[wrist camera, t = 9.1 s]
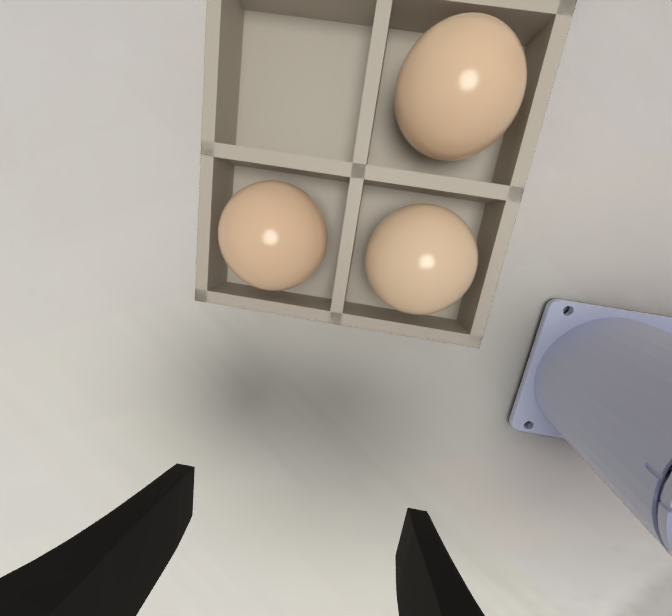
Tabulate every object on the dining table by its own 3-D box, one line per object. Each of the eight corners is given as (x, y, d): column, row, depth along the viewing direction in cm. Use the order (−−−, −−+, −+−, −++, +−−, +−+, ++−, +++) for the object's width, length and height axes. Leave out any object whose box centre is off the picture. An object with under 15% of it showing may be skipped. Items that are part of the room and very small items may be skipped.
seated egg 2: (471, 213, 17) (512, 211, 12) (448, 307, 19) (477, 338, 14) (373, 198, 17) (376, 191, 13) (357, 292, 19) (354, 318, 14)
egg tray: (538, 38, 16) (577, -3, 13) (462, 328, 19) (479, 348, 16) (236, -1, 16) (208, -49, 13) (219, 288, 20) (194, 300, 17)
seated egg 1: (339, 193, 18) (328, 183, 13) (325, 287, 19) (311, 310, 14) (244, 179, 18) (199, 164, 13) (237, 272, 19) (194, 291, 14)
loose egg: (508, 60, 16) (577, -12, 11) (480, 175, 17) (530, 158, 12) (399, 44, 16) (419, -34, 11) (380, 160, 17) (389, 136, 12)
